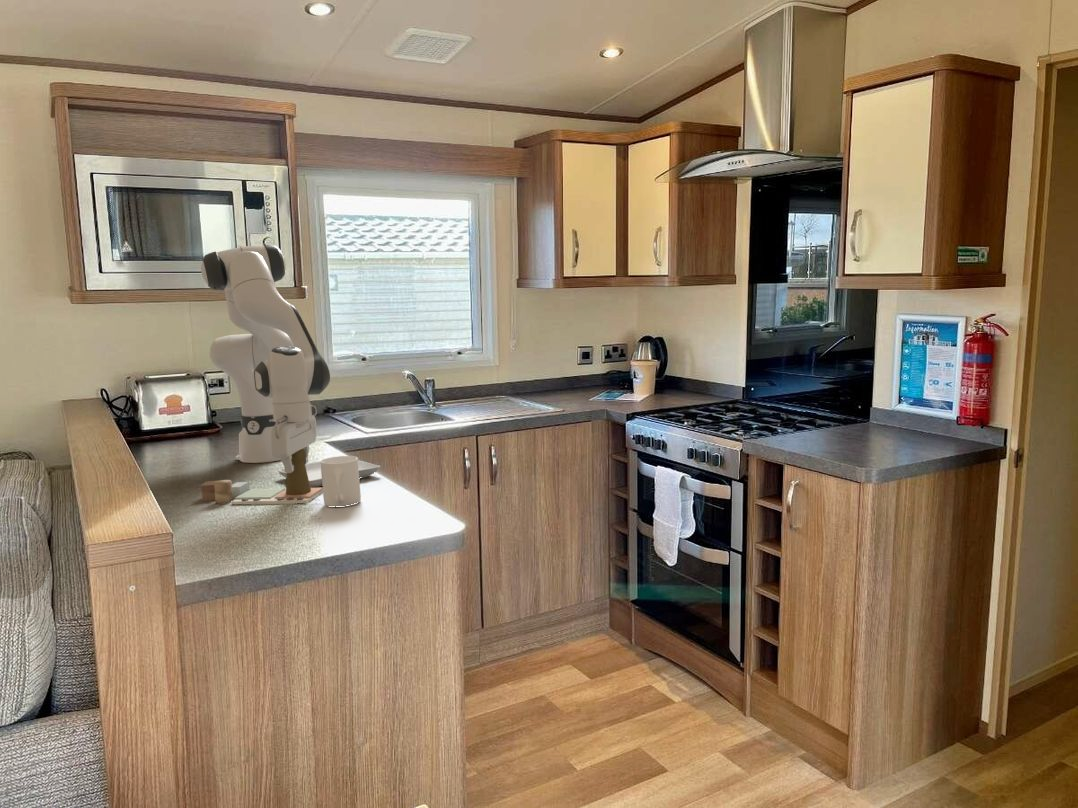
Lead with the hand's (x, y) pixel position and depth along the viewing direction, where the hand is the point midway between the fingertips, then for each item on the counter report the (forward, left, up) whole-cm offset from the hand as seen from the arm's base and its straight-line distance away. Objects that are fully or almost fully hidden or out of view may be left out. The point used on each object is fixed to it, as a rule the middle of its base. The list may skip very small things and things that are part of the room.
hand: (297, 468), depth 198 cm
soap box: (-3, -17, -8) cm, 19 cm away
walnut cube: (0, -23, -7) cm, 24 cm away
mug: (+9, +14, -8) cm, 18 cm away
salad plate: (-20, 0, -8) cm, 21 cm away
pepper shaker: (0, 0, -6) cm, 6 cm away
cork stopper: (+4, -18, -7) cm, 20 cm away
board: (+1, -5, -7) cm, 9 cm away
